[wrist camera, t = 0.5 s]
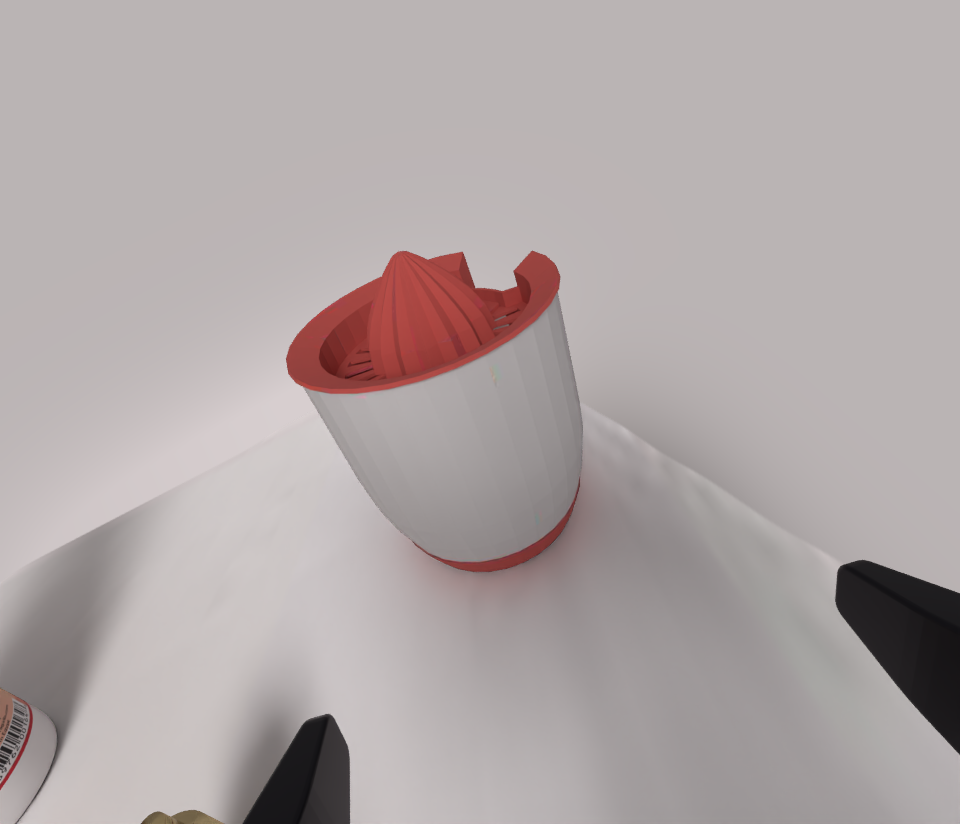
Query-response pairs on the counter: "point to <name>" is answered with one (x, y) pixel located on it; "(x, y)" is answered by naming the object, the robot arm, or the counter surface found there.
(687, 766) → the counter surface
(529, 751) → the counter surface
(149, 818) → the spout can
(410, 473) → the citrus juicer
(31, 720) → the fruit juice
